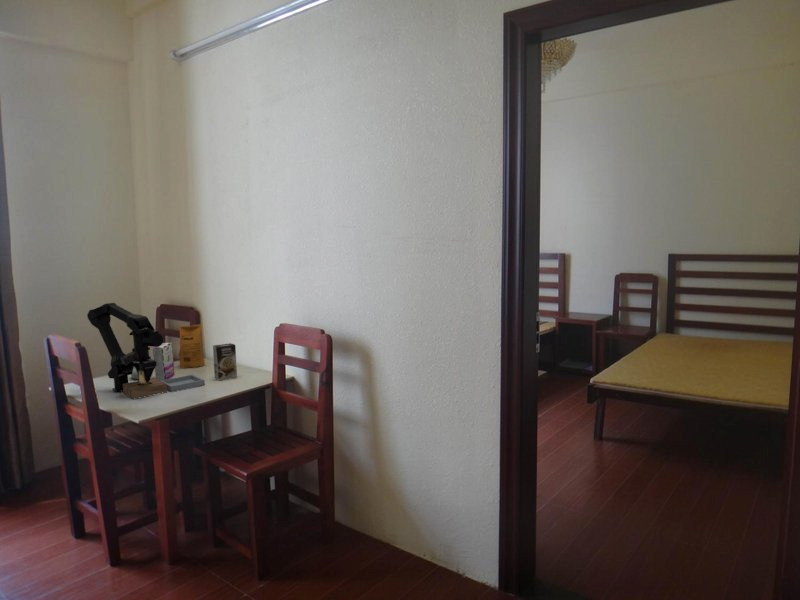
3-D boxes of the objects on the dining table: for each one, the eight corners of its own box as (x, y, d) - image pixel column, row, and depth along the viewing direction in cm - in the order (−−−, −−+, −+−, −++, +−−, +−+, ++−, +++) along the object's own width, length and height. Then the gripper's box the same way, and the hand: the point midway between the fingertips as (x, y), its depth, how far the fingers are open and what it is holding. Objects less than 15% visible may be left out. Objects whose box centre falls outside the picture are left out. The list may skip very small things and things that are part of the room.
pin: (138, 392, 243) (137, 370, 241) (148, 390, 245) (146, 368, 244) (141, 394, 240) (139, 372, 238) (151, 392, 242) (149, 370, 241)
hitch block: (123, 392, 243) (122, 383, 242) (156, 386, 252) (155, 377, 252) (133, 399, 233) (132, 390, 232) (167, 392, 242) (166, 383, 241)
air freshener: (151, 379, 266) (149, 358, 264) (132, 381, 262) (130, 361, 261) (149, 374, 275) (147, 354, 274) (131, 376, 271) (129, 356, 270)
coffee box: (218, 381, 259) (216, 347, 257) (214, 378, 264) (212, 345, 262) (237, 377, 264) (235, 344, 262) (233, 375, 269) (231, 342, 267)
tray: (160, 386, 252) (160, 380, 252) (192, 379, 262) (192, 374, 262) (171, 392, 242) (170, 386, 242) (204, 385, 252) (204, 379, 252)
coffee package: (181, 364, 294) (178, 324, 291) (205, 363, 296) (203, 322, 293) (178, 369, 284) (174, 327, 281) (203, 367, 287) (200, 325, 284)
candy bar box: (164, 375, 272) (162, 342, 270) (174, 375, 272) (172, 342, 270) (154, 381, 261) (152, 347, 259) (165, 381, 261) (162, 347, 259)
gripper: (115, 345, 241) (118, 380, 243) (127, 351, 228) (130, 388, 229) (141, 341, 249) (144, 375, 251) (155, 347, 235) (158, 382, 237)
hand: (144, 380), depth 242 cm, fingers open, 9 cm apart
